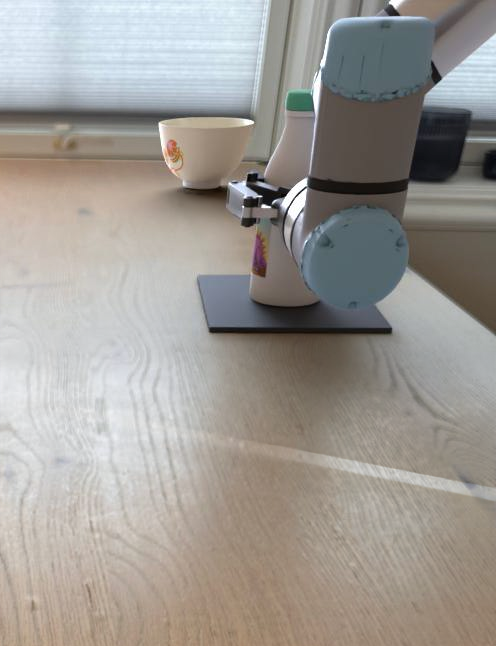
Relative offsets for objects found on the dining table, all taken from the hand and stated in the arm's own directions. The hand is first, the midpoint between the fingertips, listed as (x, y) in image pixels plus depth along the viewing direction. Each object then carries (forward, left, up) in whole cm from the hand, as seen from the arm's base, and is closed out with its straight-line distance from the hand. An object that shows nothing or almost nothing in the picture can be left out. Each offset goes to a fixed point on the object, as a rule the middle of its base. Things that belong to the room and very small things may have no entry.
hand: (292, 182), depth 105 cm
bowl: (+68, -27, -12) cm, 74 cm away
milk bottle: (-4, +2, -11) cm, 12 cm away
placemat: (-4, +2, -12) cm, 12 cm away
